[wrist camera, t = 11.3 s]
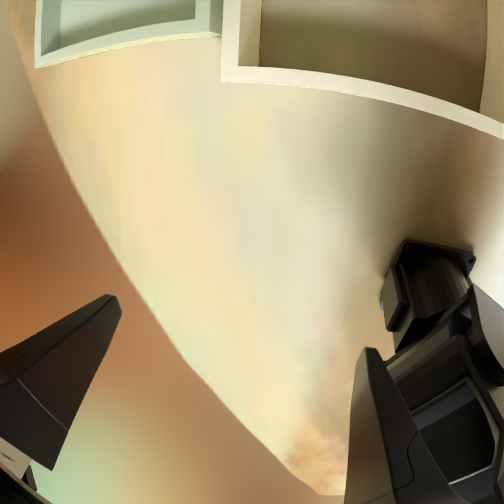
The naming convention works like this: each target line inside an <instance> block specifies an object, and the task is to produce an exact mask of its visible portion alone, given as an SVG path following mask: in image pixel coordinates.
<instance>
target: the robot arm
mask: <svg viewBox="0 0 504 504" xmlns="http://www.w3.org/2000/svg"><path fill="white" fill-rule="evenodd" d="M408 245H411V247H410V248H406V246H408ZM469 258H471V259H470V260H468V259H469ZM475 261H476V257H475V255H474V254H473V253H472V252H469V251H464V250H460V249H455V248H450V247H446V246H441V245H436V244H431V243H426V242H421V241H416V240H411V239H406V240H404V241H403V242H402V244H401V247H400V250H399V253H398V255H397V258H396V261H395V264H393V265H392V266H390V269H389V271H388V274H387V277H386V279H385V282H384V285H383V287H382V290H381V295H382V298H381V300H380V308H381V309H382V310H384V318H385V326H386V329H387V331H388V332H393V340H394V349H395V353H396V354H395V355H394V356H392V357H391V358H390V359H388V360H387V361H383V360H382V358H381V356H380V354H379V352H378V351H377V349H376V348H371V347H365V348H364V349H363V350H362V352H361V354H360V356H359V358H358V360H357V363H356V369H355V377H354V385H353V393H352V400H351V410H350V435H349V453H348V467H347V479H346V489H345V498H344V504H504V309H503V308H502V307H501V306H500V305H499V304H498V303H497V302H495V301H494V300H493V299H492V298H491V297H490V296H488V295H487V294H486V293H485V292H484V291H483V290H481V289H480V288H479V287H478V286H477V285H475V284H474V283H473V284H472V281H471V279H470V277H469V274H470V272H471V270H472V268H473V266H474V264H475ZM121 314H122V311H121V307H120V304H119V301H118V298H117V297H116V296H115V295H112V294H105V295H103V296H101V297H99V298H98V299H96V300H94V301H92V302H90V303H89V304H87V305H85V306H83V307H81V308H80V309H78V310H77V311H75V312H73V313H71V314H69V315H67V316H66V317H64V318H62V319H60V320H59V321H57V322H55V323H53V324H52V325H50V326H48V327H47V328H45V329H43V330H41V331H40V332H38V333H36V335H35V334H34V335H33V336H31V337H30V338H28V339H26V340H24V341H22V342H20V343H19V344H17V345H15V346H13V347H11V348H9V349H7V350H5V351H3V352H1V353H0V504H52V503H51V502H49V501H48V500H46V499H45V498H44V497H42V496H41V495H39V494H38V493H37V492H36V491H37V487H36V484H35V480H34V477H33V473H32V469H31V465H29V463H30V462H31V459H33V460H34V461H36V462H38V463H39V464H41V465H42V466H44V467H46V468H47V469H49V470H51V471H52V470H53V468H54V466H55V463H56V461H57V458H58V456H59V453H60V450H61V448H62V446H63V444H64V441H65V439H66V436H67V434H68V431H69V429H70V427H71V425H72V422H73V420H74V418H75V416H76V413H77V411H78V409H79V407H80V405H81V403H82V400H83V398H84V396H85V394H86V392H87V389H88V388H89V386H90V384H91V382H92V380H93V378H94V376H95V373H96V371H97V370H98V367H99V366H100V364H101V362H102V359H103V358H104V356H105V354H106V351H107V350H108V348H109V345H110V343H111V340H112V338H113V335H114V333H115V330H116V328H117V325H118V323H119V320H120V318H121Z"/></svg>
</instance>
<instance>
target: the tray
mask: <svg viewBox="0 0 504 504" xmlns="http://www.w3.org/2000/svg"><path fill="white" fill-rule="evenodd" d="M223 3H224V0H37V5H36V19H35V68H40V67H45V66H50V65H56V64H62V63H65V62H68V61H72V60H75V59H79V58H82V57H86V56H90V55H94V54H98V53H102V52H106V51H111V50H115V49H120V48H125V47H130V46H136V45H142V44H148V43H155V42H162V41H170V40H179V39H190V38H204V37H222V24H223Z"/></svg>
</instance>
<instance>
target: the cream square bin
mask: <svg viewBox="0 0 504 504" xmlns="http://www.w3.org/2000/svg"><path fill="white" fill-rule="evenodd" d="M261 5H262V0H224V3H223V24H222V50H221V82H239V83H261V84H275V85H287V86H297V87H305V88H314V89H321V90H328V91H335V92H341V93H347V94H352V95H358V96H363V97H368V98H373V99H377V100H382V101H386V102H391V103H395V104H399V105H403V106H407V107H410V108H414V109H418V110H421V111H425V112H428V113H432V114H435V115H438V116H441V117H444V118H447V119H450V120H453V121H456V122H459V123H462V124H465V125H468V126H470V127H473V128H476V129H478V130H481V131H483V132H486V133H488V134H491V135H493V136H496V137H498V138H500V139H503V140H504V0H487V50H486V64H485V74H484V83H483V91H482V98H481V104H480V110H479V113H477V112H474V111H472V110H469V109H466V108H464V107H461V106H458V105H455V104H453V103H450V102H447V101H444V100H441V99H438V98H435V97H431V96H428V95H425V94H421V93H418V92H414V91H411V90H407V89H403V88H399V87H395V86H391V85H387V84H383V83H378V82H374V81H369V80H364V79H359V78H353V77H348V76H342V75H336V74H329V73H322V72H314V71H306V70H296V69H285V68H271V67H258V66H259V45H260V25H261Z"/></svg>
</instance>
